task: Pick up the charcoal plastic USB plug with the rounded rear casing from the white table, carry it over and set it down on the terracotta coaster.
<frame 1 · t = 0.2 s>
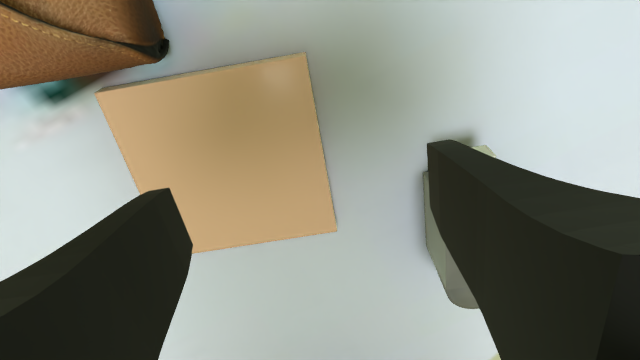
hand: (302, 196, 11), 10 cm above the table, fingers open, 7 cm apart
usb plug: (454, 204, 23), on the table
coaster: (230, 162, 21), on the table
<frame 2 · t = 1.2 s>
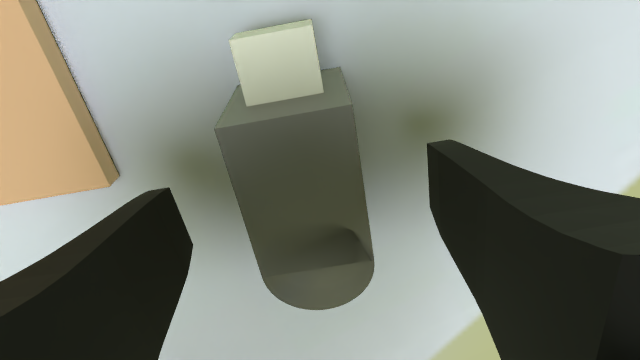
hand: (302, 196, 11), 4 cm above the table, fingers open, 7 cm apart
usb plug: (302, 143, 15), on the table
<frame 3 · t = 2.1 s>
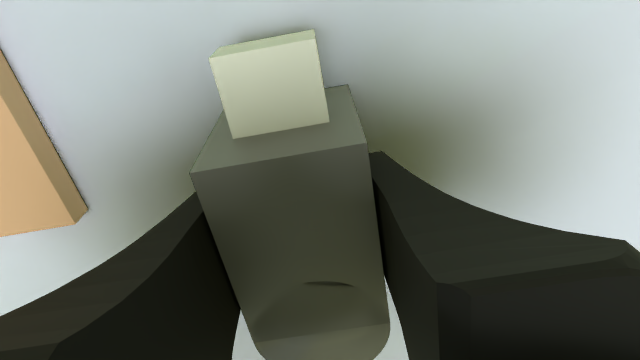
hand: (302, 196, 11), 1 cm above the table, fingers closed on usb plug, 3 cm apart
usb plug: (303, 173, 12), on the table, touching gripper
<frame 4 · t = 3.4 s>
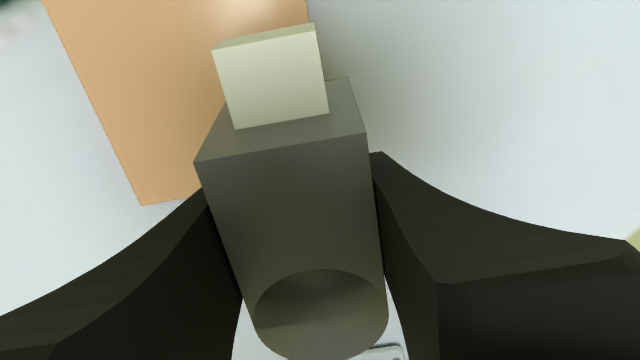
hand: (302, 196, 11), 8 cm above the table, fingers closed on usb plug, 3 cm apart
usb plug: (303, 164, 13), point 7 cm above the table, touching gripper
coaster: (208, 85, 18), on the table
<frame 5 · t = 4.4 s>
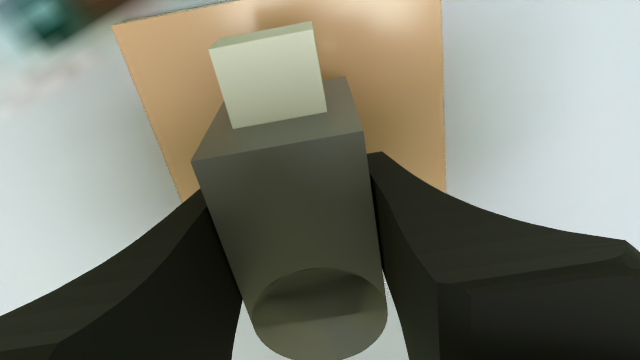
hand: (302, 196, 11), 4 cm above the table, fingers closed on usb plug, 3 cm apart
usb plug: (302, 164, 13), point 3 cm above the table, touching gripper
coaster: (303, 137, 15), on the table
when the fingers open (3 cm above the table, at t = 5.0 s): usb plug stays where it is, resting on coaster.
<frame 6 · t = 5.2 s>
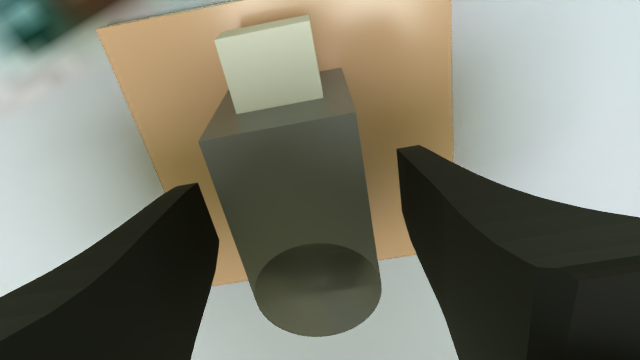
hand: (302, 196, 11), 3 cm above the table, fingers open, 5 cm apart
usb plug: (301, 151, 13), point 1 cm above the table, touching coaster
coaster: (303, 146, 14), on the table
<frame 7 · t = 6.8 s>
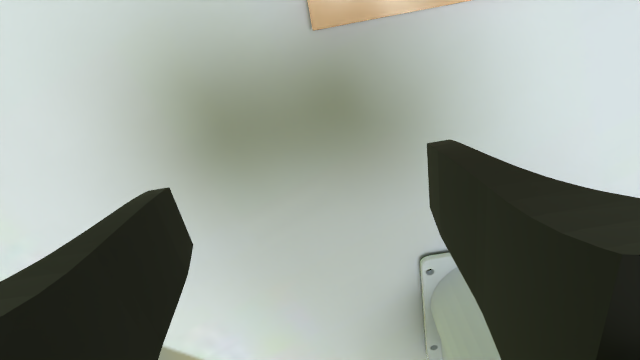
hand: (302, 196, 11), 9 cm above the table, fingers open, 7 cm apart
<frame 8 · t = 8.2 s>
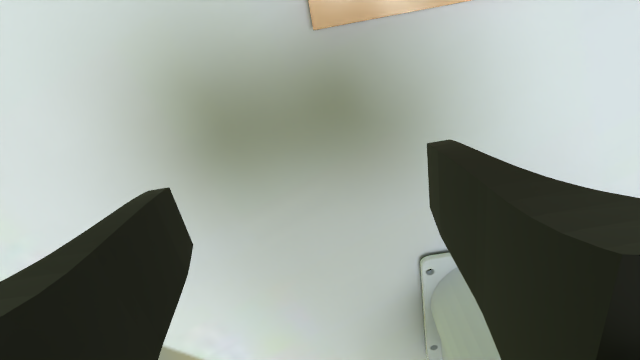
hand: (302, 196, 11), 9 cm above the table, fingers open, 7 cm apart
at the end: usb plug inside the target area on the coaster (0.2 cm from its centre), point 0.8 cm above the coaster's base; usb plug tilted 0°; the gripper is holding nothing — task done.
